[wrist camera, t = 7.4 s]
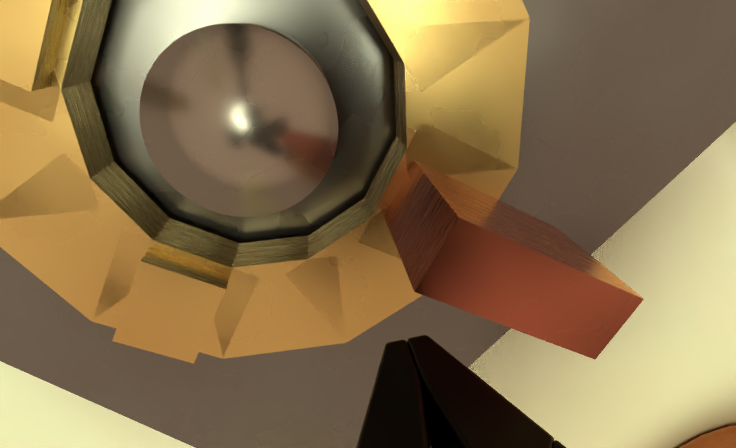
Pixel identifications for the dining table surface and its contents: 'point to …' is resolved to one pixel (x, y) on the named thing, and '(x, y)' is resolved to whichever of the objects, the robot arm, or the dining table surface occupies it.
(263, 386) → the cap plate
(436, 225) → the ring nut
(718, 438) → the potted plant
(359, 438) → the robot arm
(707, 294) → the dining table surface
